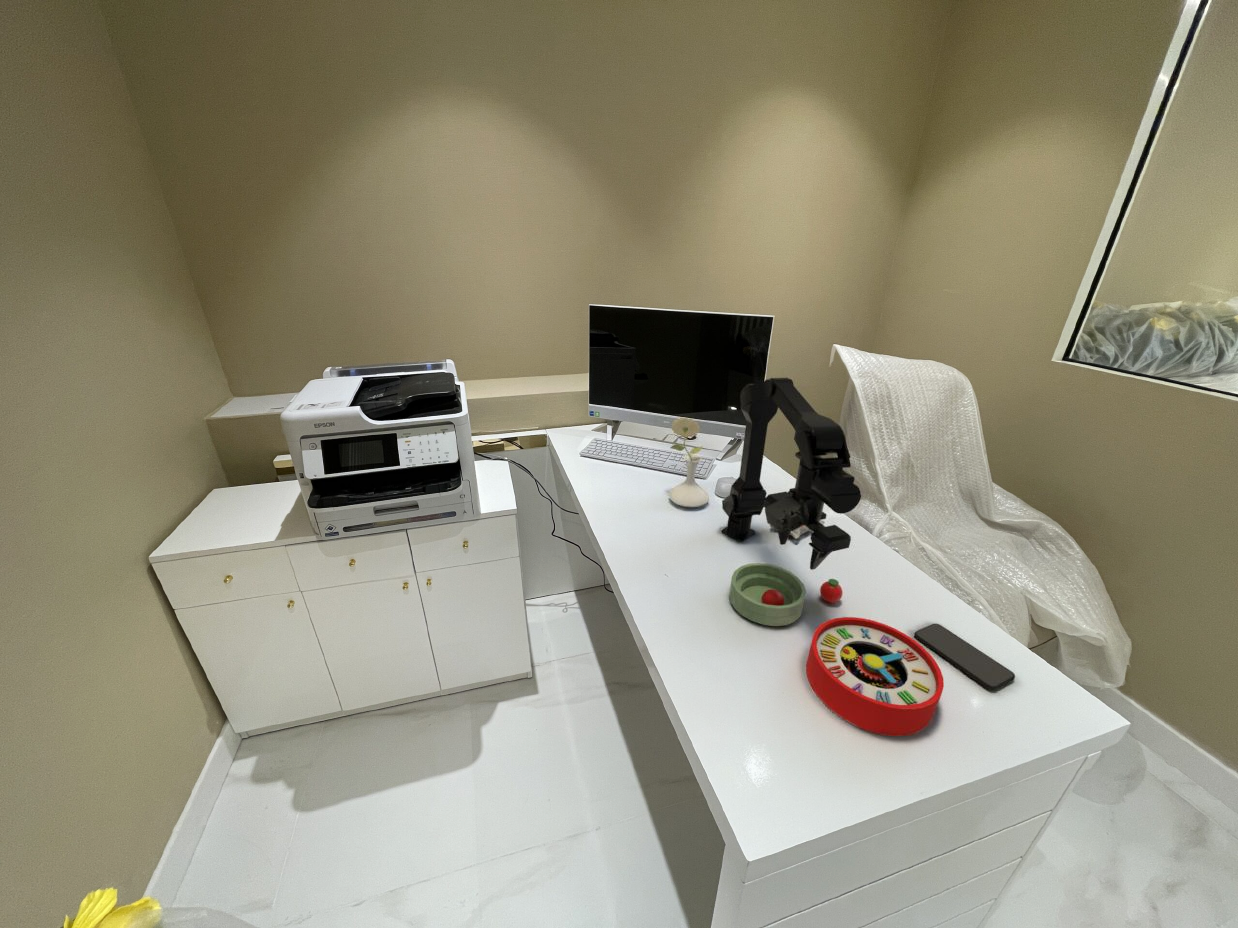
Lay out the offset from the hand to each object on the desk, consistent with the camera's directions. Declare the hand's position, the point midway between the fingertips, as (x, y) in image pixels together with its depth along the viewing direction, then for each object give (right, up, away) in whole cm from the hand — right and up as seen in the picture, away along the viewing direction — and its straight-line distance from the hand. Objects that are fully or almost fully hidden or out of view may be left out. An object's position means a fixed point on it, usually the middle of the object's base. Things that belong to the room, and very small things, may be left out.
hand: (797, 556), depth 102 cm
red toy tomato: (+8, -10, +5) cm, 14 cm away
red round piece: (-5, -8, +2) cm, 10 cm away
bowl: (-6, -10, +3) cm, 12 cm away
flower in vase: (-17, +8, +44) cm, 47 cm away
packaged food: (+10, +1, +30) cm, 32 cm away
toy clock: (+7, -19, -15) cm, 25 cm away
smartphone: (+27, -17, -9) cm, 33 cm away
